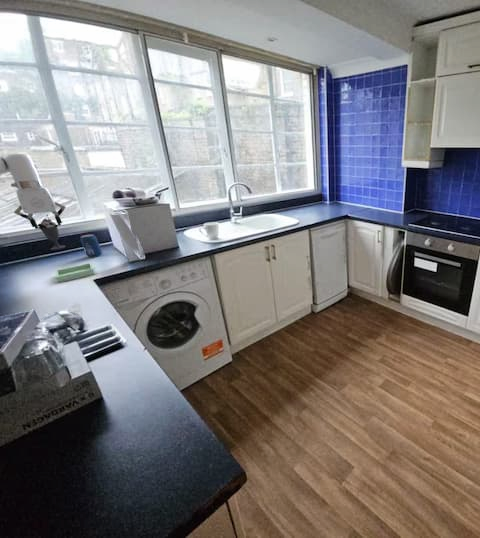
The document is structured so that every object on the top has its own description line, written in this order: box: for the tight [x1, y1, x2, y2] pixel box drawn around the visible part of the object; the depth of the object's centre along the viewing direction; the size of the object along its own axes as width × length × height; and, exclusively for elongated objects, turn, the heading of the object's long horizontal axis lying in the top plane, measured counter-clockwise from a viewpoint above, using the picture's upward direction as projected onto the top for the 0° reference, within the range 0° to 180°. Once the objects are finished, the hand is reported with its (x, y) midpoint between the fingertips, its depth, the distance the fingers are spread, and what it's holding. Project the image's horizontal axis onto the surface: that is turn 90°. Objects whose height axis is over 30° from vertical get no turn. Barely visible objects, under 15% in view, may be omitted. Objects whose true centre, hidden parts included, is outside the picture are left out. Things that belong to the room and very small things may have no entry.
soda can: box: [80, 233, 103, 258], centre depth 167 cm, size 7×7×12 cm
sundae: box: [37, 214, 66, 251], centre depth 131 cm, size 7×7×15 cm
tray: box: [55, 262, 95, 283], centre depth 143 cm, size 13×12×3 cm
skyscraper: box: [109, 208, 146, 263], centre depth 156 cm, size 8×8×28 cm
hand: (48, 226), depth 130 cm, fingers closed on sundae, 6 cm apart
